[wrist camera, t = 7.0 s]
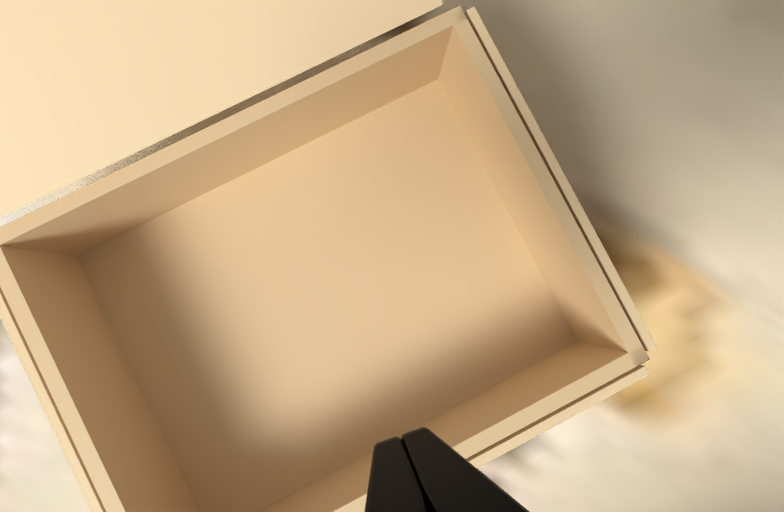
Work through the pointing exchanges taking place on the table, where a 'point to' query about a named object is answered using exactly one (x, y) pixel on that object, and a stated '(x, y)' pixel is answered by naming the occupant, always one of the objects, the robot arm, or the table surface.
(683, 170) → the table surface
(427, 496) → the robot arm
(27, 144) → the flap
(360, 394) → the carton
